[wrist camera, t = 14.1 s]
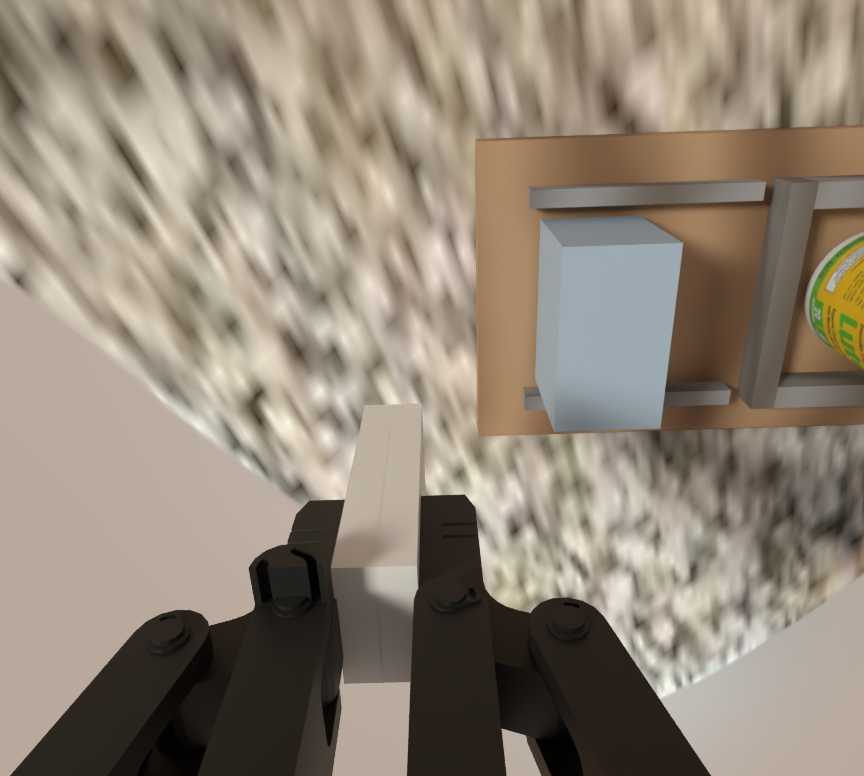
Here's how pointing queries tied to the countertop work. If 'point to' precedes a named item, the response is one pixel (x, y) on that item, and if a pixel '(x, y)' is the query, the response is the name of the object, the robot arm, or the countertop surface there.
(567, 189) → the brown tray with rails
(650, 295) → the block
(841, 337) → the supplement bottle
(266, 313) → the countertop surface
